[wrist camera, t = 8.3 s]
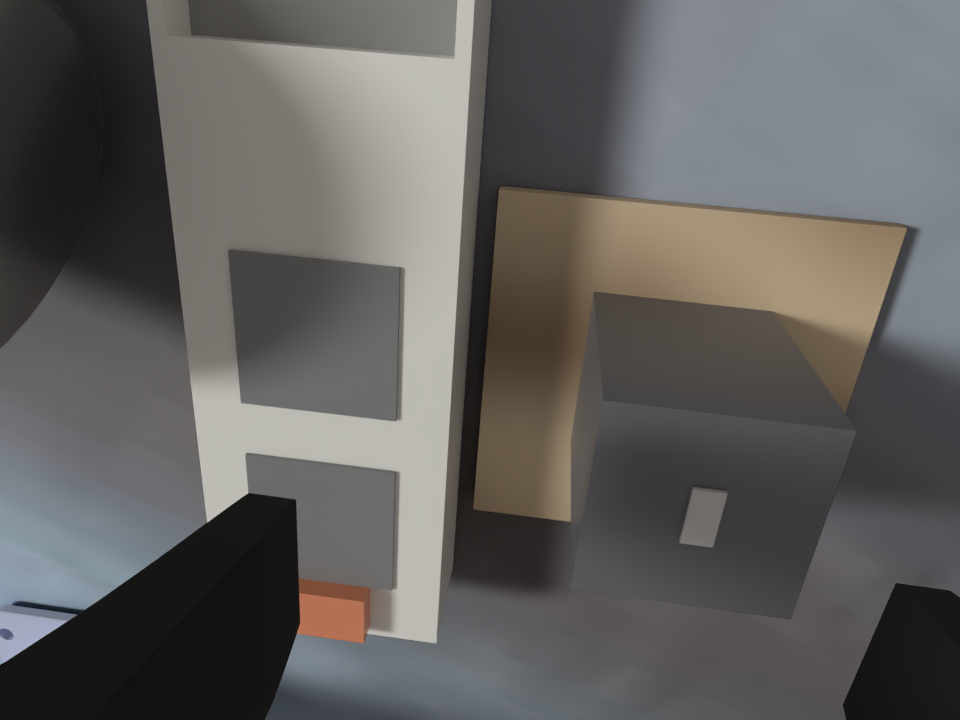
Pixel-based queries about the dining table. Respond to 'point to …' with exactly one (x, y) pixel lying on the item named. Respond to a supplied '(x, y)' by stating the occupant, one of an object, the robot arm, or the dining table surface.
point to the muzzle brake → (43, 151)
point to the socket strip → (330, 277)
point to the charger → (699, 456)
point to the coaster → (654, 274)
